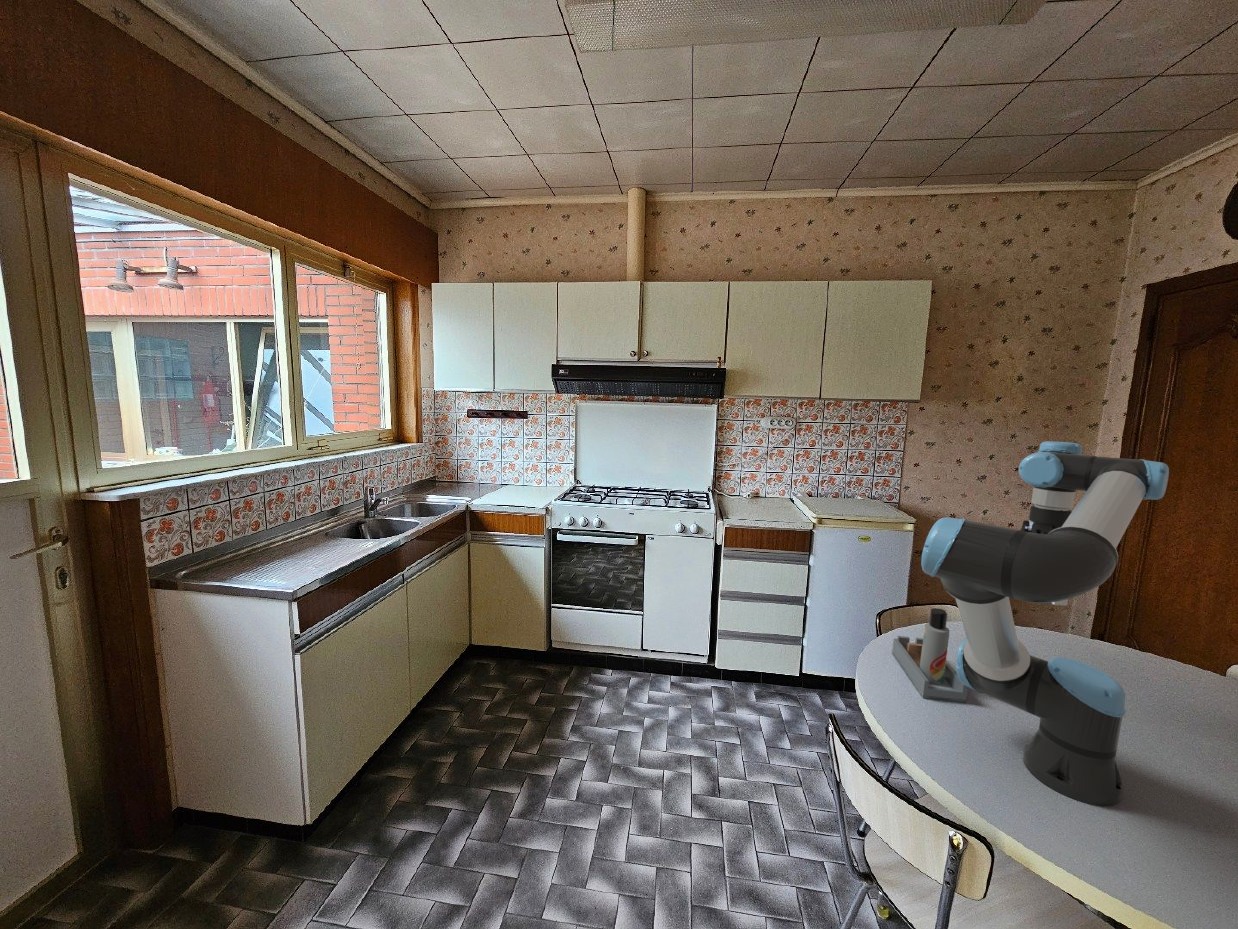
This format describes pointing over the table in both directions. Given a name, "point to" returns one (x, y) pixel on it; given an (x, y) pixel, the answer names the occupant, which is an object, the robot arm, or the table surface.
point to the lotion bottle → (935, 647)
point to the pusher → (915, 652)
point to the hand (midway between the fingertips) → (1038, 593)
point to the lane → (946, 691)
